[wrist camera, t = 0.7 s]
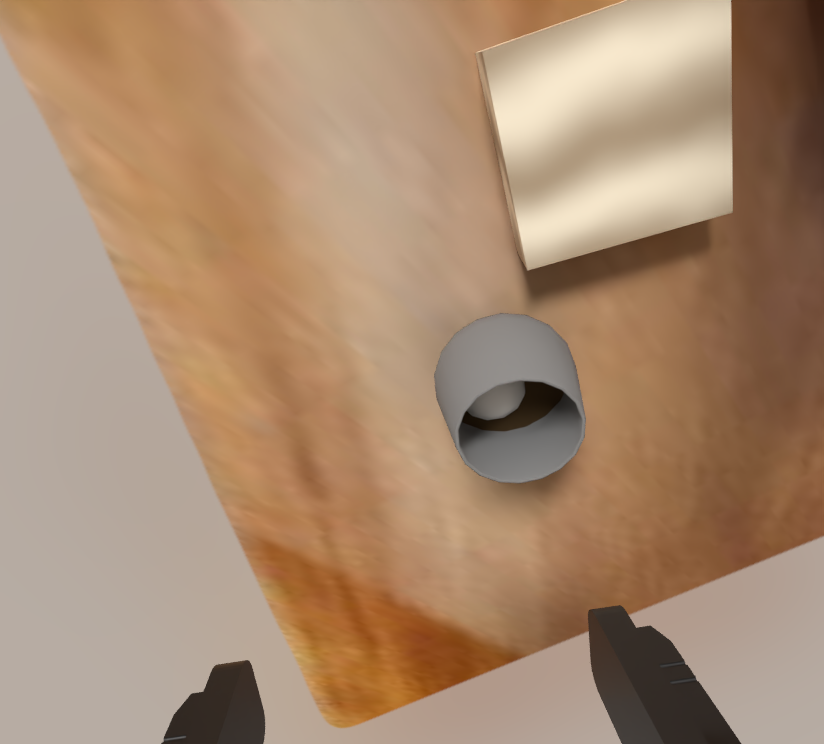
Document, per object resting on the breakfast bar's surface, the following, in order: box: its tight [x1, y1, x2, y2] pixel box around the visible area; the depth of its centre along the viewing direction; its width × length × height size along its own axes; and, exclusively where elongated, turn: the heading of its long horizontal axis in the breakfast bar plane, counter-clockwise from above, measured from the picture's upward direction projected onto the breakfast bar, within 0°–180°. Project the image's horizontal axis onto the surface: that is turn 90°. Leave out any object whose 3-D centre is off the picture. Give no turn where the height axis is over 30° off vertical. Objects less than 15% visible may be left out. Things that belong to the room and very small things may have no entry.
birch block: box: [475, 0, 733, 271], centre depth 31 cm, size 12×12×4 cm
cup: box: [434, 313, 586, 483], centre depth 35 cm, size 10×9×10 cm
